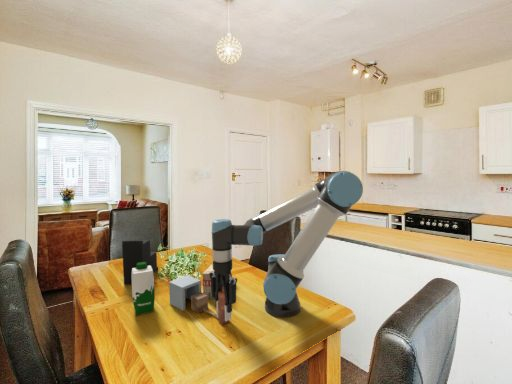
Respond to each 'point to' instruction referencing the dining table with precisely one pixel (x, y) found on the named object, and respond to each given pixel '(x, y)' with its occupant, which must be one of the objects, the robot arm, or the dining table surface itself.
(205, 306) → the tethered block
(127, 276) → the bookend
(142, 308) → the milk carton
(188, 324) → the dining table surface
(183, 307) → the box
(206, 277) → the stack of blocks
